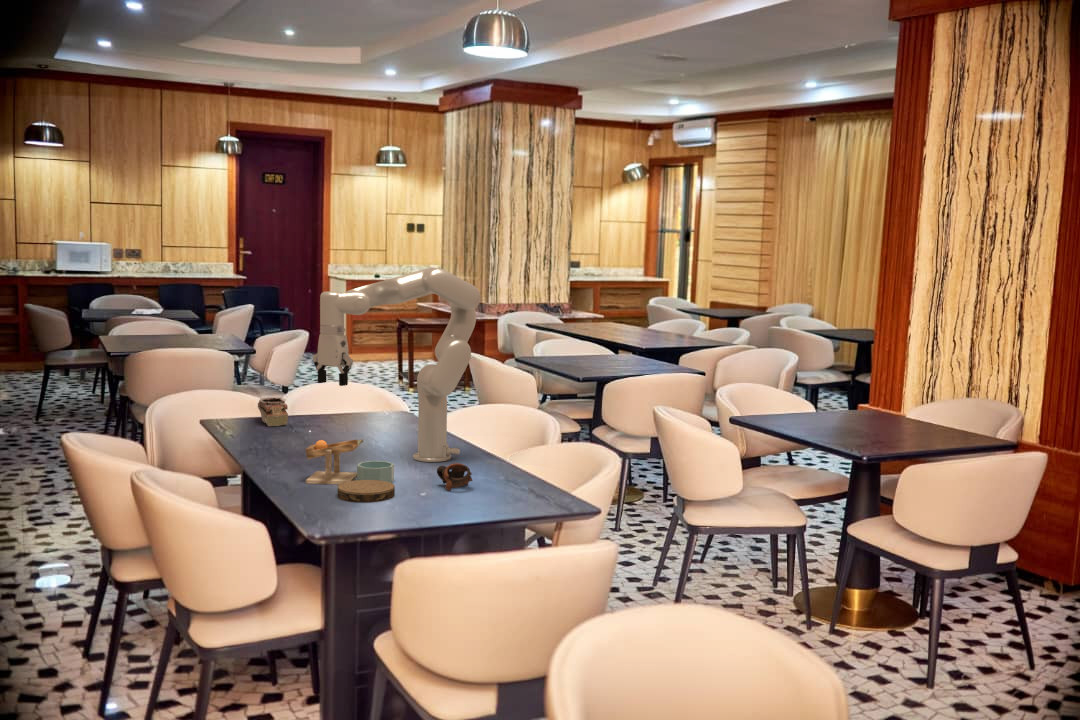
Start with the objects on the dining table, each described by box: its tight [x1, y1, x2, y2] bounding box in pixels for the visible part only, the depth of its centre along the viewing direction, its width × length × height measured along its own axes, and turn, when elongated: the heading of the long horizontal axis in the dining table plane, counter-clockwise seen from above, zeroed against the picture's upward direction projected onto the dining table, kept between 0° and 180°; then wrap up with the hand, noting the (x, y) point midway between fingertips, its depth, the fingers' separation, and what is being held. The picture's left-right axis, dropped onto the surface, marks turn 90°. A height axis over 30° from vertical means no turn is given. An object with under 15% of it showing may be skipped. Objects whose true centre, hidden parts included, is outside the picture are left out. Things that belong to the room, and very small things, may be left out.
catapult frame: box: [305, 450, 357, 485], centre depth 301 cm, size 13×12×10 cm
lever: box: [305, 438, 364, 460], centre depth 304 cm, size 14×16×3 cm
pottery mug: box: [436, 462, 473, 492], centre depth 295 cm, size 12×10×8 cm
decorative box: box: [257, 397, 289, 427], centre depth 394 cm, size 13×20×10 cm, turn 20°
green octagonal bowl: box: [356, 460, 395, 484], centre depth 301 cm, size 10×10×5 cm
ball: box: [314, 439, 328, 450], centre depth 301 cm, size 4×4×4 cm
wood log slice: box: [337, 479, 396, 504], centre depth 283 cm, size 16×16×3 cm
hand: (332, 384), depth 319 cm, fingers open, 9 cm apart
